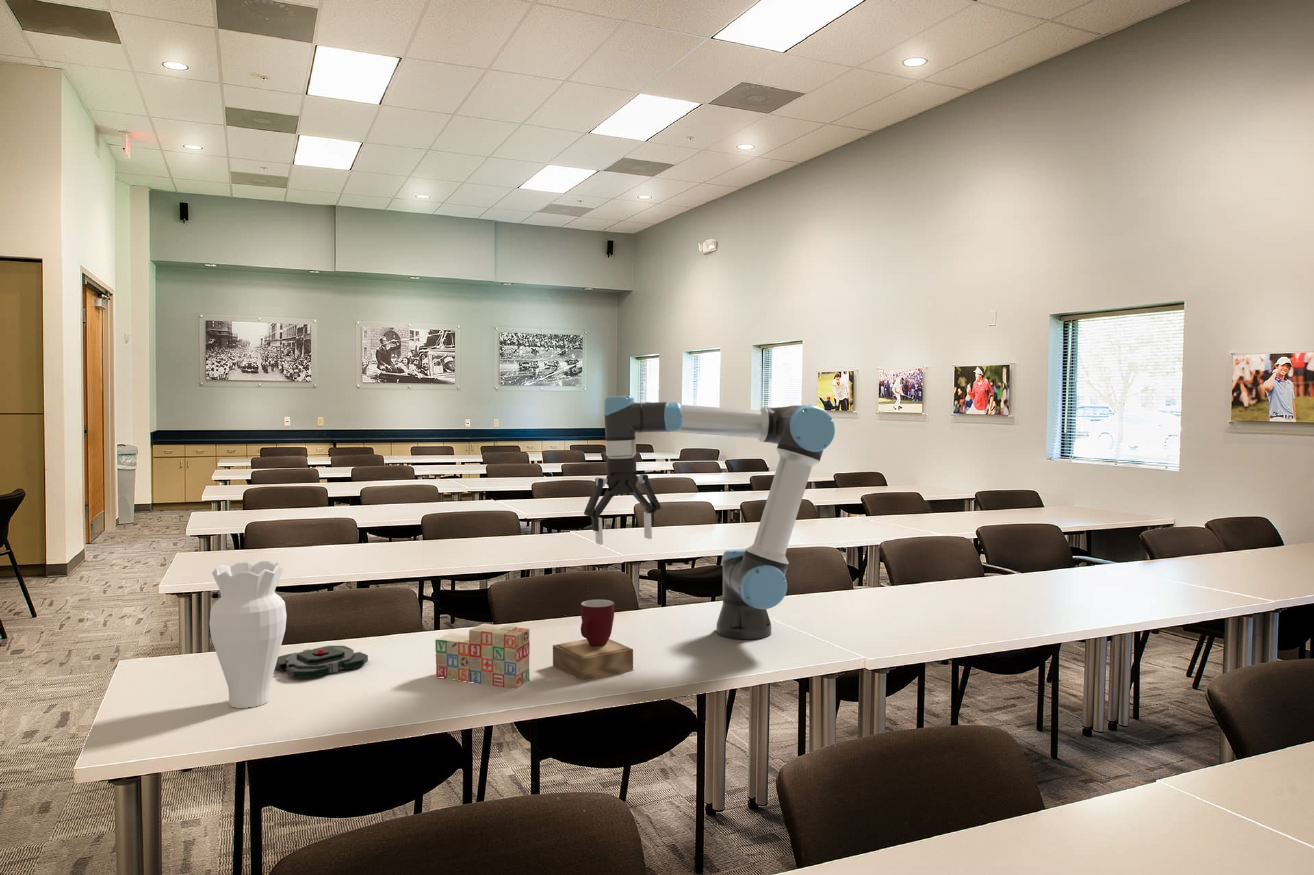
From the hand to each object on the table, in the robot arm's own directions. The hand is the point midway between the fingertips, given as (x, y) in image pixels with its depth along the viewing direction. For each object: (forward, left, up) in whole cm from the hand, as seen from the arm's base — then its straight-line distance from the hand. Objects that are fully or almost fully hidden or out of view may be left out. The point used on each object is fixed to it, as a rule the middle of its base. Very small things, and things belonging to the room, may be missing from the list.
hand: (624, 541), depth 213 cm
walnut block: (+12, +8, -29) cm, 32 cm away
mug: (+11, +8, -24) cm, 27 cm away
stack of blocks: (+37, +5, -29) cm, 48 cm away
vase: (+86, -1, -29) cm, 90 cm away
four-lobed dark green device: (+71, -21, -29) cm, 79 cm away
